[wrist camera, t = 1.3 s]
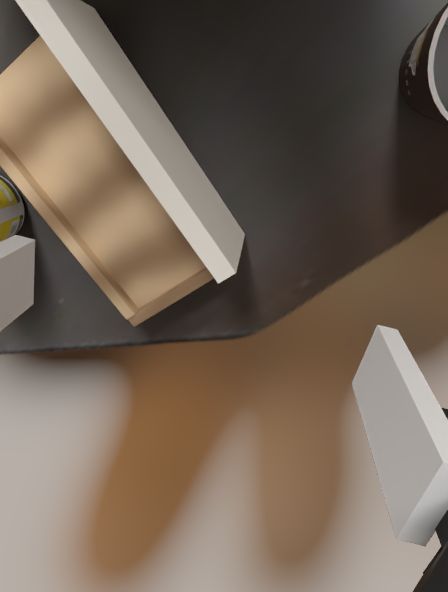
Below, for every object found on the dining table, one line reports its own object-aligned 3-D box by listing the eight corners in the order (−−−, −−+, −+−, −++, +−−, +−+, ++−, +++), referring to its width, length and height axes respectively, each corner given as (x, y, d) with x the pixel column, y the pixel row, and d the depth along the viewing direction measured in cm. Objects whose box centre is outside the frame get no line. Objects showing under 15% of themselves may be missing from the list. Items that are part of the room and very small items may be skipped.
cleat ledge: (-12, 109, 36) (-46, 109, 32) (80, 21, 32) (54, 9, 29) (146, 308, 42) (133, 328, 38) (237, 251, 38) (233, 267, 35)
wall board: (80, 21, 32) (5, -14, 23) (94, 8, 32) (23, -34, 23) (231, 243, 38) (218, 283, 29) (245, 234, 38) (236, 273, 29)
